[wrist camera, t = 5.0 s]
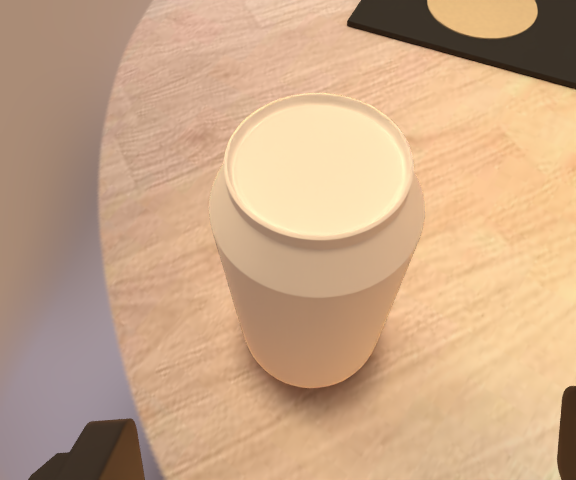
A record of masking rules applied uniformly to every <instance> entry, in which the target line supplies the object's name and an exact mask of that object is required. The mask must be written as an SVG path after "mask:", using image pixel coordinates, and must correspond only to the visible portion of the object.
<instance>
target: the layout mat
mask: <svg viewBox="0 0 576 480" xmlns="http://www.w3.org/2000/svg"><path fill="white" fill-rule="evenodd" d="M347 25H348V26H351V27H355V28H359V29H362V30H366V31H369V32H373V33H377V34H380V35H384V36H388V37H391V38H395V39H398V40H402V41H406V42H409V43H413V44H416V45H420V46H424V47H427V48H431V49H435V50H438V51H442V52H445V53H449V54H453V55H456V56H460V57H464V58H467V59H471V60H474V61H478V62H482V63H485V64H489V65H492V66H496V67H500V68H503V69H507V70H511V71H514V72H518V73H521V74H525V75H529V76H532V77H536V78H540V79H543V80H547V81H550V82H554V83H558V84H561V85H565V86H568V87H572V88H576V0H361V1H360V3H359V4H358V6H357V7H356V9H355V10H354V12H353V13H352V15H351V16H350V18H349V19H348V21H347Z"/></svg>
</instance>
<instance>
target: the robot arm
mask: <svg viewBox="0 0 576 480" xmlns="http://www.w3.org/2000/svg"><path fill="white" fill-rule="evenodd" d="M557 462H558V469H559V473H560V477H561V480H576V386H569V387H568V388H566V389H565V391H564V393H563V397H562V406H561V418H560V430H559V442H558V455H557ZM28 480H145V477H144V471H143V465H142V459H141V452H140V447H139V440H138V434H137V429H136V425H135V422H134V421H133V419H118V420H105V421H92V422H89V423H88V424H87V425H86V426H85V428H84V429H83V431H82V433H81V434H80V436H79V438H78V439H77V441H76V443H75V444H74V446H73V447H72V449H71V451H70V452H68V453H57V454H56V455H55V456H54V457H52V458H51V459H50V460H49V461H47V462H46V463H45V464H44V465H43V466H42V467H40V468H39V469H38V470H37V471H36V472H35V473H33V474H32V475H31V476H30V478H29V479H28Z"/></svg>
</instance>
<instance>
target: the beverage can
mask: <svg viewBox="0 0 576 480" xmlns="http://www.w3.org/2000/svg"><path fill="white" fill-rule="evenodd" d="M209 217H210V223H211V227H212V231H213V235H214V238H215V242H216V245H217V248H218V252H219V255H220V259H221V262H222V265H223V269H224V272H225V275H226V279H227V282H228V286H229V289H230V292H231V296H232V299H233V302H234V306H235V309H236V313H237V316H238V319H239V322H240V326H241V329H242V332H243V335H244V338H245V341H246V344H247V346H248V348H249V350H250V352H251V354H252V356H253V357H254V359H255V360H256V361H257V362H258V364H259V365H260V366H261V367H262V368H263V369H264V370H265V371H266V372H268V373H269V374H270V375H272V376H273V377H275V378H276V379H278V380H280V381H282V382H284V383H287V384H289V385H293V386H297V387H303V388H321V387H327V386H331V385H334V384H337V383H339V382H341V381H344V380H345V379H347V378H349V377H350V376H352V375H353V374H354V373H356V372H357V371H358V370H359V369H360V368H361V367H362V366H363V365H364V364H365V363H366V361H367V360H368V358H369V357H370V355H371V354H372V352H373V350H374V348H375V346H376V344H377V341H378V339H379V337H380V334H381V332H382V329H383V327H384V325H385V322H386V320H387V317H388V315H389V312H390V310H391V308H392V305H393V303H394V300H395V298H396V295H397V293H398V290H399V288H400V286H401V283H402V281H403V278H404V276H405V273H406V271H407V268H408V266H409V263H410V261H411V259H412V256H413V254H414V251H415V249H416V246H417V244H418V241H419V239H420V236H421V233H422V229H423V225H424V219H425V202H424V196H423V192H422V188H421V185H420V183H419V180H418V178H417V176H416V174H415V172H414V162H413V155H412V151H411V148H410V146H409V143H408V141H407V139H406V137H405V136H404V134H403V133H402V131H401V130H400V129H399V127H398V126H397V125H396V124H395V123H394V122H393V121H392V120H391V119H390V118H389V117H388V116H386V115H385V114H384V113H382V112H381V111H379V110H378V109H376V108H374V107H373V106H371V105H369V104H367V103H364V102H362V101H360V100H357V99H354V98H350V97H347V96H342V95H337V94H329V93H306V94H298V95H293V96H288V97H285V98H281V99H278V100H276V101H273V102H271V103H269V104H266V105H264V106H263V107H261V108H259V109H258V110H256V111H255V112H253V113H252V114H251V115H249V116H248V117H247V118H246V119H245V120H244V121H243V122H242V123H241V124H240V125H239V126H238V127H237V129H236V130H235V131H234V133H233V134H232V136H231V138H230V140H229V142H228V145H227V147H226V151H225V155H224V163H223V165H222V166H221V168H220V170H219V172H218V174H217V176H216V178H215V180H214V183H213V186H212V189H211V193H210V199H209Z"/></svg>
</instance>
